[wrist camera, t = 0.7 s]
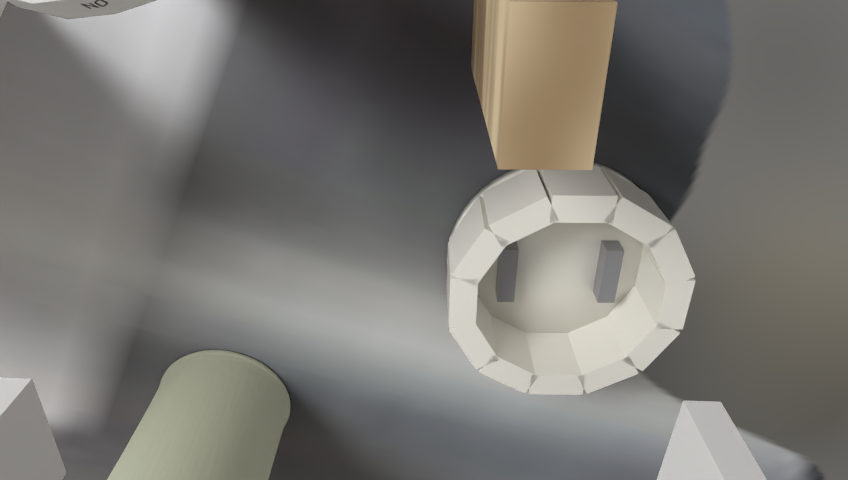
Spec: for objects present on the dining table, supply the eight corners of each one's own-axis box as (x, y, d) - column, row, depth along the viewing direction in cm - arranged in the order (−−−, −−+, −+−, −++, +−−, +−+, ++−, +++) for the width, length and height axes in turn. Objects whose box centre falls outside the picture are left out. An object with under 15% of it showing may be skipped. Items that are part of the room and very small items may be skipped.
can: (187, 328, 40) (101, 478, 29) (312, 383, 42) (273, 542, 31) (142, 414, 44) (51, 575, 33) (259, 461, 46) (208, 625, 35)
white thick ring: (449, 157, 34) (452, 194, 29) (680, 159, 34) (718, 196, 29) (444, 340, 40) (446, 393, 36) (639, 342, 40) (665, 395, 36)
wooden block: (471, 67, 31) (498, 169, 19) (475, -38, 29) (509, 1, 17) (528, 68, 31) (592, 170, 19) (537, -37, 29) (617, 2, 17)
